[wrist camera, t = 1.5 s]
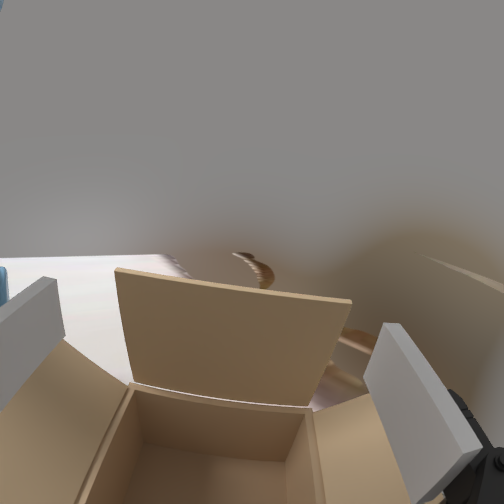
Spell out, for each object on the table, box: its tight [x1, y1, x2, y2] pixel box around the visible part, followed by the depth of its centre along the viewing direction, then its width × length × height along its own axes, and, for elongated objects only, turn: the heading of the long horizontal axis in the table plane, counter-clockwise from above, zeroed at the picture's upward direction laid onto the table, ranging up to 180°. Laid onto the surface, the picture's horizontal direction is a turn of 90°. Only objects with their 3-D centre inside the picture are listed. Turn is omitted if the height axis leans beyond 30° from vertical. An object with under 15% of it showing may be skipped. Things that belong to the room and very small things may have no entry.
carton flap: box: [114, 267, 352, 406], centre depth 30 cm, size 16×21×1 cm
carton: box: [0, 339, 444, 504], centre depth 22 cm, size 25×40×17 cm, turn 89°
